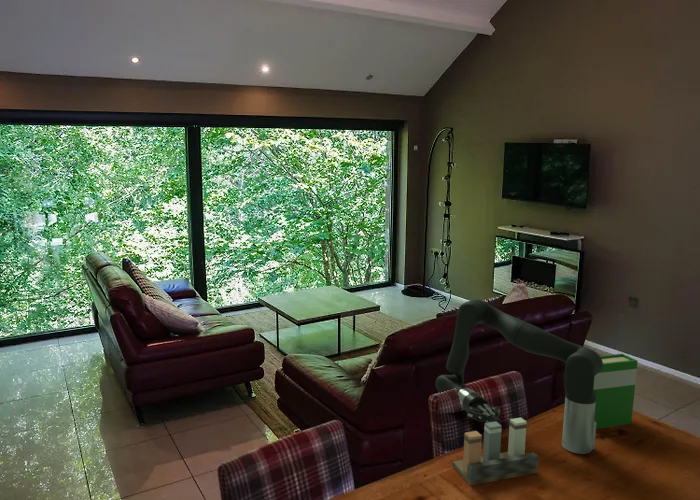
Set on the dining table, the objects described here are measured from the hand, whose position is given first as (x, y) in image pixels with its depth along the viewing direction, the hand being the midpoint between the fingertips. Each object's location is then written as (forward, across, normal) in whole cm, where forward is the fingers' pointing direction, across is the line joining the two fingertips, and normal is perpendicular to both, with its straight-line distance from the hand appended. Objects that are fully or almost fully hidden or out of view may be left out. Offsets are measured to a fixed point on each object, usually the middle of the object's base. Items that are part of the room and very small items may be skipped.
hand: (497, 423), depth 184 cm
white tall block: (+11, 0, +6) cm, 12 cm away
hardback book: (-3, +46, +8) cm, 47 cm away
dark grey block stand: (+13, -9, +8) cm, 17 cm away
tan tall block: (+14, -18, +6) cm, 24 cm away
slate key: (+11, -9, +6) cm, 15 cm away
